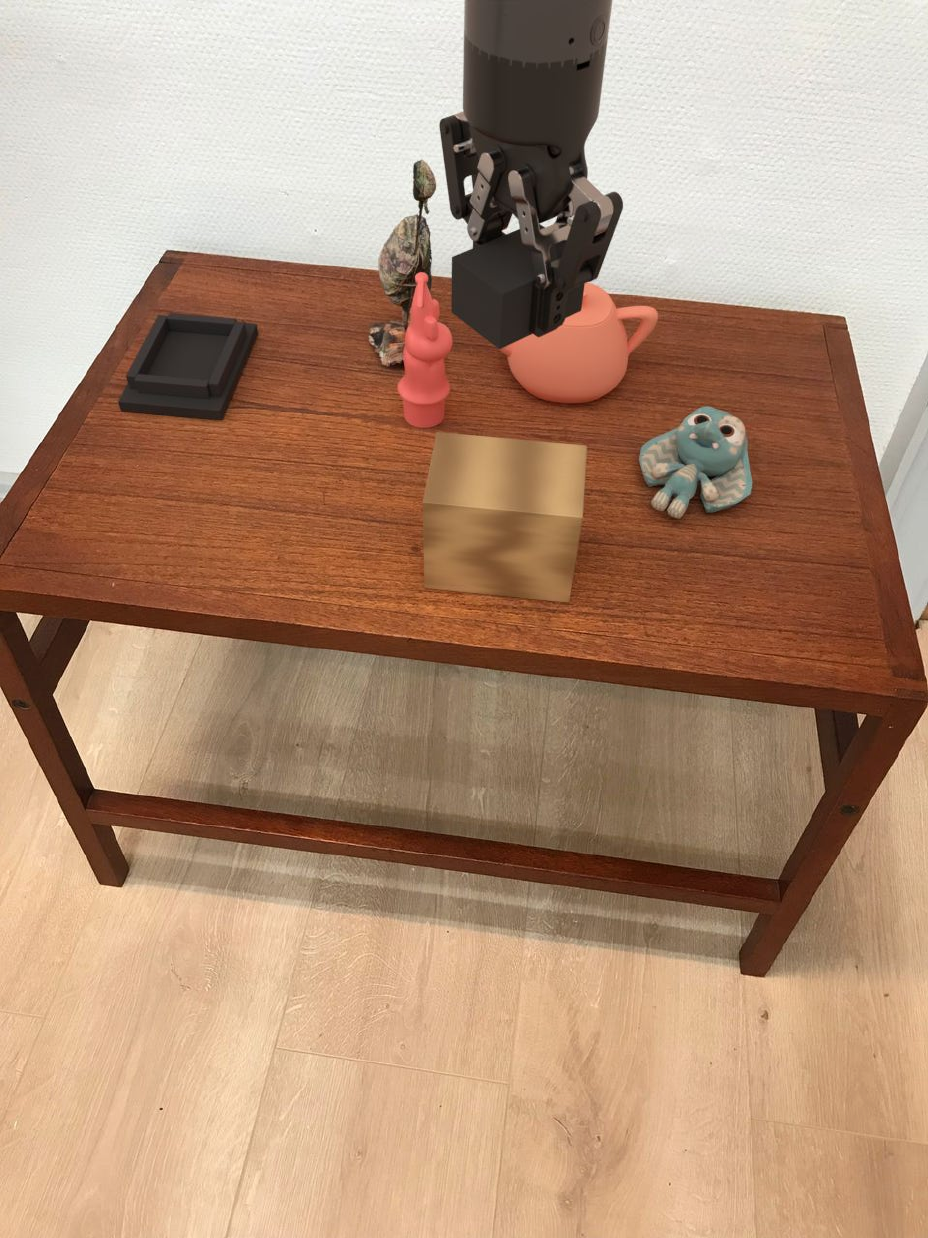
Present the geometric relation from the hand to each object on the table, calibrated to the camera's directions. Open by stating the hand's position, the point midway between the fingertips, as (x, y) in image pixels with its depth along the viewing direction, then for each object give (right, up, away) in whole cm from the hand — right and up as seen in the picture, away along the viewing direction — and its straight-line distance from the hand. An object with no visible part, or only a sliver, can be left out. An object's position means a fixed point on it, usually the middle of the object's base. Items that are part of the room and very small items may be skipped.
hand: (516, 308), depth 64 cm
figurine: (-7, -1, +31) cm, 31 cm away
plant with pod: (-9, +9, +38) cm, 40 cm away
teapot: (+6, +5, +35) cm, 36 cm away
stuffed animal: (+17, -8, +25) cm, 32 cm away
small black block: (0, 0, 0) cm, 0 cm away
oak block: (0, -15, +19) cm, 24 cm away
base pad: (-31, +5, +34) cm, 46 cm away
